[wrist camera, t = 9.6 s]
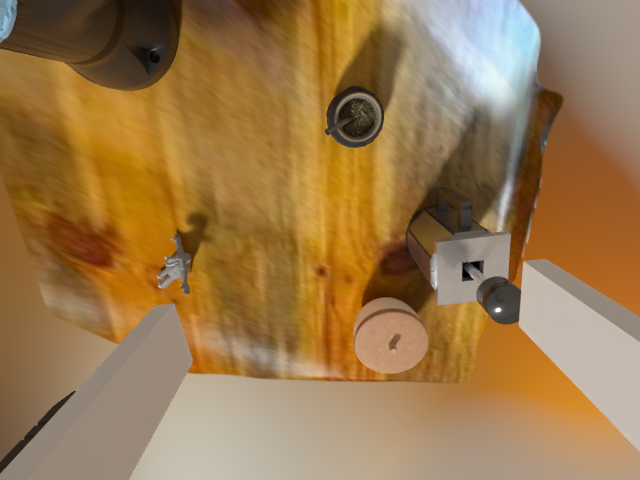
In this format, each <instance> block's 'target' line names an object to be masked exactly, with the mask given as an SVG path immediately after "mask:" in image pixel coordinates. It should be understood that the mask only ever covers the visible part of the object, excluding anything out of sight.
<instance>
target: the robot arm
mask: <svg viewBox="0 0 640 480" xmlns="http://www.w3.org/2000/svg"><path fill="white" fill-rule="evenodd" d="M177 42H178V26H177V19H176V15H175V11H174V8H173V5H172V2H171V0H0V48H1V49H5V50H10V51H14V52H19V53H24V54H28V55H33V56H37V57H42V58H47V59H51V60H56V61H60V62H64V63H66V64H67V65H68V66H70V67H71V68H72V69H73V70H75V71H76V72H77V73H79V74H80V75H81V76H83V77H84V78H86V79H87V80H89V81H91V82H93V83H95V84H98V85H100V86H103V87H107V88H111V89H117V90H123V91H134V90H140V89H144V88H147V87H149V86H151V85H153V84H154V83H156V82H157V81H158V80H160V79H161V78H162V77H163V76H164V75H165V73H166V72H167V71H168V69H169V68H170V66H171V64H172V62H173V59H174V56H175V53H176V49H177ZM519 327H520V328H521V329H522V330H523V331H524V332H525V333H526V334H527V335H528V336H529V337H530V338H531V339H532V340H533V341H534V342H535V343H536V344H537V345H538V346H539V347H540V349H542V351H544V353H545V354H546V355H547V356H548V357H549V358H550V359H551V360H552V361H553V362H554V363H555V364H556V365H557V366H558V367H559V368H560V369H561V370H562V371H563V372H564V373H565V375H566V376H567V377H568V378H569V379H570V380H571V381H572V382H573V383H574V384H575V385H576V386H577V387H578V388H579V389H580V390H581V391H582V392H583V393H584V394H585V395H586V396H587V397H588V399H590V401H592V403H593V404H594V405H595V406H596V407H597V408H598V409H599V410H600V411H601V412H602V413H603V414H604V415H605V416H606V417H607V418H608V419H609V420H610V421H611V422H612V424H613V425H615V427H616V428H617V429H618V430H619V431H620V432H621V433H622V434H623V435H624V436H625V437H626V438H627V439H628V440H629V441H630V442H631V443H632V444H633V445H634V446H635V447H636V448H637V449H638V451H639V452H640V317H639V316H637V315H636V314H634V313H632V312H631V311H629V310H628V309H626V308H624V307H623V306H621V305H619V304H618V303H616V302H615V301H613V300H611V299H610V298H608V297H607V296H605V295H603V294H602V293H600V292H598V291H597V290H595V289H594V288H592V287H590V286H589V285H587V284H585V283H584V282H582V281H580V280H579V279H577V278H576V277H574V276H572V275H571V274H569V273H567V272H566V271H564V270H563V269H561V268H559V267H558V266H556V265H554V264H553V263H551V262H550V261H548V260H546V259H540V260H532V261H524V262H523V275H522V289H521V302H520V315H519ZM192 363H193V359H192V356H191V353H190V350H189V347H188V344H187V341H186V338H185V335H184V332H183V329H182V326H181V323H180V320H179V317H178V314H177V311H176V308H175V305H174V304H166V305H158V306H154V307H153V308H152V310H151V311H150V312H149V313H148V314H147V315H146V316H145V317H144V318H143V319H142V320H141V321H140V323H139V324H138V325H137V326H136V327H135V328H134V329H133V330H132V331H131V332H130V333H129V335H128V336H127V337H126V338H125V339H124V340H123V341H122V342H121V343H120V344H119V345H118V346H117V348H116V349H115V350H114V351H113V352H112V353H111V354H110V355H109V356H108V358H106V360H105V361H104V362H103V363H102V364H101V365H100V366H99V367H98V368H97V369H96V370H95V372H94V373H93V374H92V375H91V376H90V377H89V378H88V379H87V380H86V381H85V382H84V383H83V384H82V386H81V387H80V388H79V389H78V390H77V391H73V392H72V393H70V394H69V395H68V396H66V397H65V398H64V399H62V400H61V401H60V402H58V403H57V404H56V405H54V406H53V407H52V408H51V409H50V410H49V411H48V412H47V413H46V415H45V416H44V417H43V418H42V419H41V420H40V421H39V422H38V425H37V426H34V427H33V428H32V429H31V431H29V432H28V433H27V434H26V436H25V438H24V440H21V441H20V442H19V443H18V444H17V445H16V446H15V447H14V448H13V449H12V450H11V451H10V452H9V453H8V454H7V455H6V456H5V458H4V459H3V460H2V461H1V462H0V480H129V478H130V476H131V474H132V472H133V471H134V469H135V467H136V465H137V463H138V462H139V460H140V458H141V456H142V454H143V452H144V451H145V449H146V447H147V445H148V443H149V441H150V440H151V438H152V436H153V434H154V432H155V430H156V429H157V427H158V425H159V423H160V421H161V419H162V418H163V416H164V414H165V412H166V410H167V408H168V407H169V405H170V403H171V401H172V399H173V398H174V396H175V394H176V392H177V390H178V388H179V386H180V385H181V383H182V381H183V379H184V377H185V376H186V374H187V372H188V370H189V368H190V366H191V365H192Z"/></svg>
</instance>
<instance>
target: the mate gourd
mask: <svg viewBox="0 0 640 480" xmlns="http://www.w3.org/2000/svg"><path fill="white" fill-rule="evenodd" d="M383 121H384V111H383V107H382V104H381V103H380V101H379V99H378V98H377V97H376V96H375V95H374V94H373V93H372V92H370V91H368V90H366V89H364V88H361V87H356V86H352V87H349V88H348V89H346V90H344V91H342V92H341V93H340V94H338V95H337V96H336V97H334V98H333V100H332V101H331V103H330V105H329V107H328V110H327V124H328V129H326V130H325V133H326V134H327V135H329V134H331V135H332V136H333V138H334V139H335V140H336V141H337V142H339V143H340V144H342V145H344V146H347V147H353V148H356V147H357V148H358V147H362V146H366V145H367V144H370V143H371V142H373V140H374V139H375V138H376V137H377V136H378V134H379V132H380V131H381V130H382V126H383Z"/></svg>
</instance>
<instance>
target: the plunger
mask: <svg viewBox="0 0 640 480" xmlns="http://www.w3.org/2000/svg"><path fill="white" fill-rule="evenodd" d="M462 267H463V268H464V269H465V270H466V271H467V272H468V273H469V274H470V275H471V276H472V277H473V278H474V279H475V280H476V281H477V283H478V284H479V285H480V286H479V287H478V289H477V292H476V298H477V301H478V302H479V304H480V305H481V306H482V307H483V308H484V309H485V311H486V312H487V313H488V314H489V315H490V316H491V317H492V319H493V320H494V321H496V322H498V323H500V324H512V323H515V322H518V321H519V315H520V302H521V290H520V289H519V288H517V287H516V286H515V285H514V284H513V283H512V282H510V281H509V280H508V279H506V278H504V277H500V276H495V277H491V278H488V279H487V278H486V277H485V276H484V275H483V274H482V273H481V272H480V271H479V270H478V269H477V268H476V267H474V266H473V265H472V264H471V263H470V262H464V263H462Z"/></svg>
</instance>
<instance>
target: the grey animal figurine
mask: <svg viewBox="0 0 640 480" xmlns="http://www.w3.org/2000/svg"><path fill="white" fill-rule="evenodd" d="M174 235H175V239H173V238H171V239H172V240H173V241H174V242H175V243H176V246H177V253H176V255H173V256H171V257H165V256H164V258H165V259H166V264H164V265H165V266H166V268H165V269H164V270H163V271H162V272H160V273H159V274H157V278H159V279H164V278H165V279H164V280H163V281H162V282H160V283H159V285H158V286H159V288H166V287H168V286H169V284H170V283H171V282H172V281H173V280H175V279H176V278H177V279H178V278H182V287H181V288H180V289H179V290H181V289H183V290H184V295H185V294H186V295H187V294H188V295H189V293H190V291H189V285H188V284H187V272H188V271H189V272H191V271H190V270H189V268H190V262H191V255H190V254H189V253H185V252H184V250H183V246H182V245H181V241H182V240H181V237H180V235H179V234H177V233H176V234H174ZM168 275H169V276H168ZM167 276H168V277H167ZM185 292H186V293H185Z"/></svg>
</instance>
